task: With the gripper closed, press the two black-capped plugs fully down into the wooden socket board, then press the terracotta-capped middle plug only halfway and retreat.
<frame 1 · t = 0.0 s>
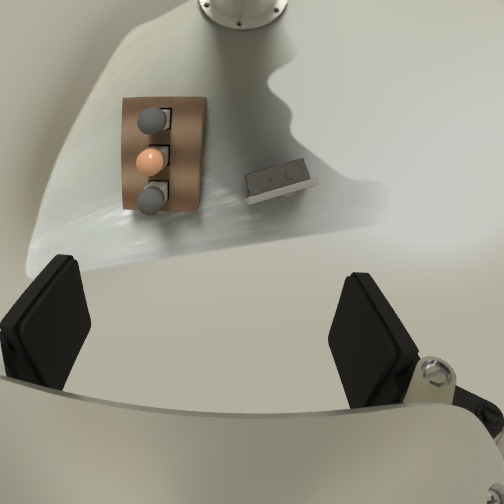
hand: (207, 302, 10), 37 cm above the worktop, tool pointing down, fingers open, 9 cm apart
wooden socket board: (165, 150, 42), on the worktop
electrical switch: (272, 176, 46), on the worktop
plug middle: (154, 158, 37), point 7 cm above the worktop, slide at 0.0 cm
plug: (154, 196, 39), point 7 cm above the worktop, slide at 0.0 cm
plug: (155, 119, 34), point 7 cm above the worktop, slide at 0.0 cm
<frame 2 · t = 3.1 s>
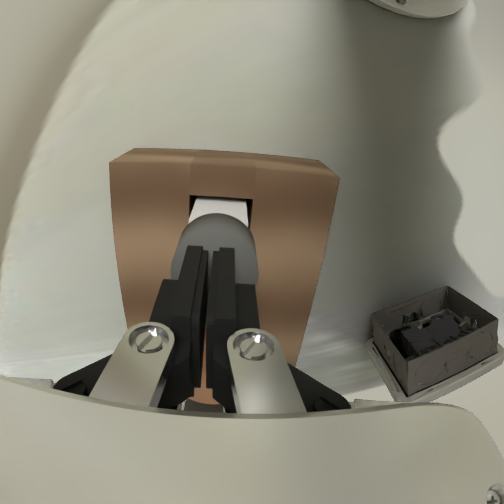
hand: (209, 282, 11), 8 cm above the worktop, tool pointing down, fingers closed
wooden socket board: (218, 270, 21), on the worktop
electrical switch: (407, 307, 24), on the worktop
plug middle: (213, 339, 15), point 7 cm above the worktop, slide at 0.0 cm
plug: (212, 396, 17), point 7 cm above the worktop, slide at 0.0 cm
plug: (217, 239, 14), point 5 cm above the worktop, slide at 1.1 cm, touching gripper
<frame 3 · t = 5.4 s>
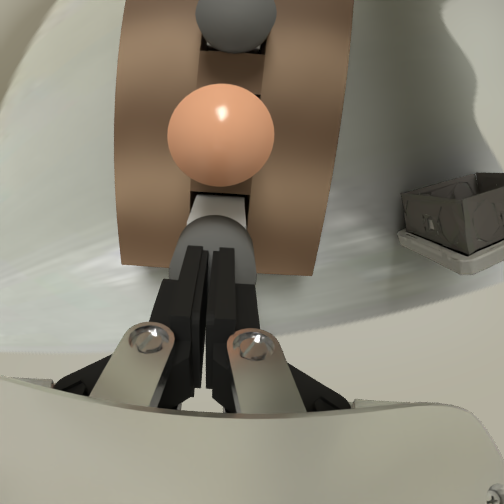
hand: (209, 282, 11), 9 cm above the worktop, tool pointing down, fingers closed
wooden socket board: (227, 118, 17), on the worktop
electrical switch: (438, 194, 20), on the worktop
plug middle: (223, 127, 11), point 7 cm above the worktop, slide at 0.0 cm
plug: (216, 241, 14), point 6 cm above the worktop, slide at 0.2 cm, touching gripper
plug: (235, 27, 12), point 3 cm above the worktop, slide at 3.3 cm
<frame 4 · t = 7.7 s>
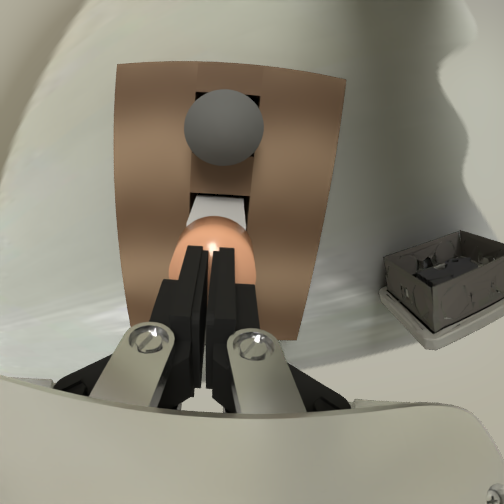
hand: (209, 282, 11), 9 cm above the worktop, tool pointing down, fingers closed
wooden socket board: (221, 197, 19), on the worktop
electrical switch: (420, 253, 23), on the worktop
plug middle: (215, 242, 14), point 6 cm above the worktop, slide at 0.2 cm, touching gripper
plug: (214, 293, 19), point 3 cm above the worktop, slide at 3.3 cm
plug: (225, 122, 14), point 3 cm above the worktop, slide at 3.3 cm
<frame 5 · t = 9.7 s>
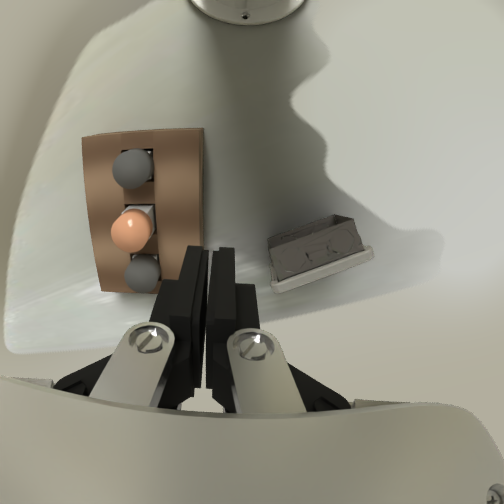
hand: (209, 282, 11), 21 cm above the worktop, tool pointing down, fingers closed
wooden socket board: (150, 206, 31), on the worktop
electrical switch: (301, 234, 34), on the worktop
plug middle: (138, 222, 26), point 5 cm above the worktop, slide at 1.7 cm
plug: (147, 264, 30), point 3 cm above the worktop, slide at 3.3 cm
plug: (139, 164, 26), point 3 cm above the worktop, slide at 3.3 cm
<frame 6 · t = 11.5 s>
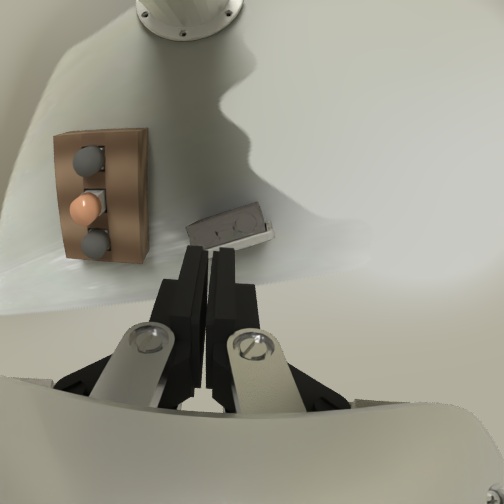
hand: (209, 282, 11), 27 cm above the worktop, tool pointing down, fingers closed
wooden socket board: (107, 190, 36), on the worktop
electrical switch: (229, 217, 39), on the worktop
plug middle: (92, 203, 32), point 5 cm above the worktop, slide at 1.7 cm
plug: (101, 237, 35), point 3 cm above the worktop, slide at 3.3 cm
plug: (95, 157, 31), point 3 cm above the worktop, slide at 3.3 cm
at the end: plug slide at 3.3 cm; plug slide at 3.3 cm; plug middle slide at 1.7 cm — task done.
